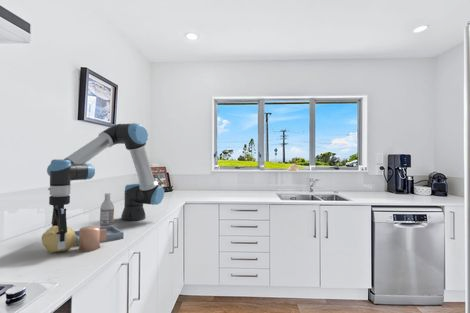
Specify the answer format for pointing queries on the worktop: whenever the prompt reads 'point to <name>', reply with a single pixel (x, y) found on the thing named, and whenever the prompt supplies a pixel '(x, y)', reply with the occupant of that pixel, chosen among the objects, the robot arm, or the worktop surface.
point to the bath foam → (107, 212)
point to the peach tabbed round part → (91, 238)
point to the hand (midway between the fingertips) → (58, 244)
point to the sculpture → (52, 239)
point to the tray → (111, 234)
